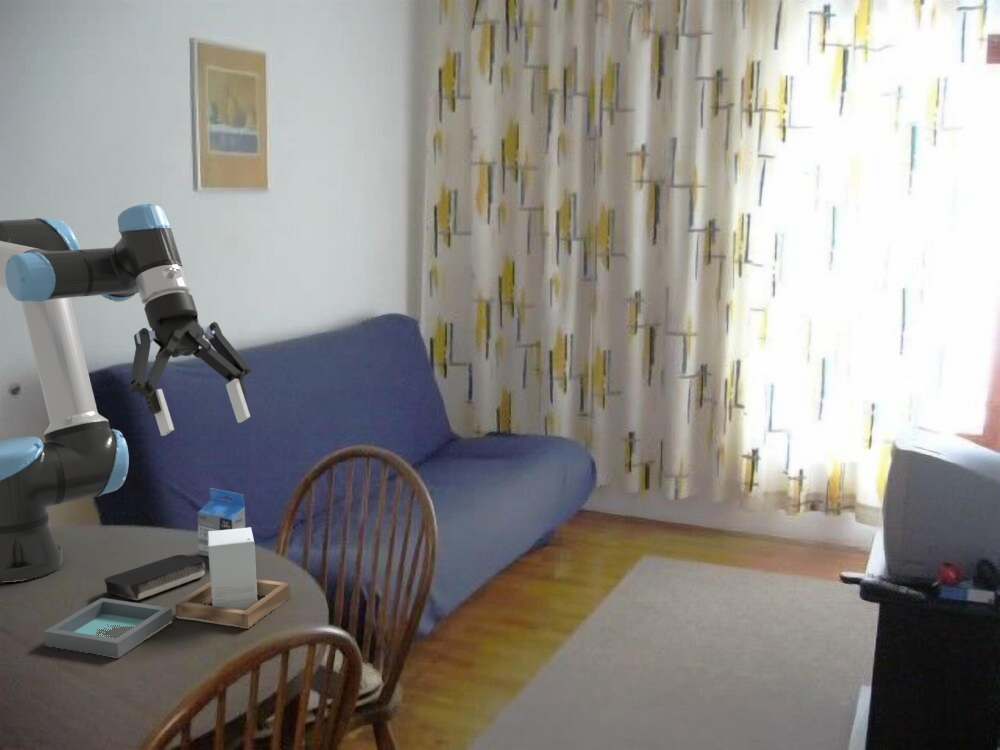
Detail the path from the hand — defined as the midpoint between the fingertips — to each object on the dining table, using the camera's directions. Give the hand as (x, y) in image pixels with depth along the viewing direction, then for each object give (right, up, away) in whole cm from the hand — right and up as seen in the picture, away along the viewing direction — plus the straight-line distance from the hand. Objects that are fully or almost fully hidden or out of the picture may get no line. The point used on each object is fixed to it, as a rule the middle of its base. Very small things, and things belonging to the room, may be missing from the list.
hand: (207, 426), depth 166 cm
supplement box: (+1, -31, +13) cm, 34 cm away
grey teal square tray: (-16, -33, +3) cm, 37 cm away
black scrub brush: (-15, -29, +23) cm, 40 cm away
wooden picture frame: (+1, -31, +13) cm, 33 cm away
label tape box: (-7, -26, +36) cm, 45 cm away
